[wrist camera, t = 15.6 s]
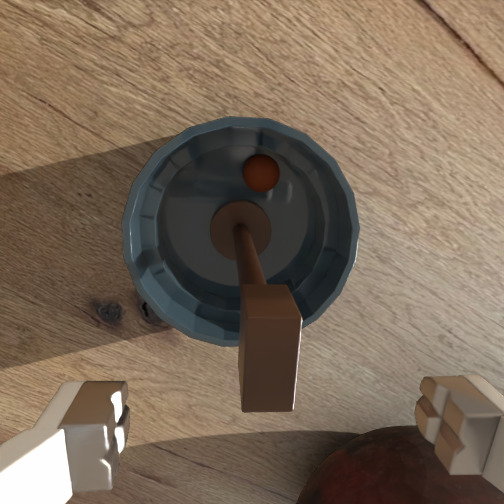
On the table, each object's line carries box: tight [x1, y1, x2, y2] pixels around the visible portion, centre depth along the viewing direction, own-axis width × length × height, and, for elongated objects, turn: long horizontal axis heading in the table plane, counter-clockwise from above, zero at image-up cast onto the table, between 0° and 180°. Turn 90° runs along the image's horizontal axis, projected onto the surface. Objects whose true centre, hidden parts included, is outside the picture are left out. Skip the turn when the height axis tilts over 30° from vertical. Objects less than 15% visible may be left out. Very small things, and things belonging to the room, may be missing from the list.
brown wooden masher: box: [210, 199, 303, 413], centre depth 21 cm, size 5×5×20 cm
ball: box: [243, 154, 280, 192], centre depth 28 cm, size 3×3×3 cm
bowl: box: [121, 116, 360, 347], centre depth 28 cm, size 17×17×6 cm
